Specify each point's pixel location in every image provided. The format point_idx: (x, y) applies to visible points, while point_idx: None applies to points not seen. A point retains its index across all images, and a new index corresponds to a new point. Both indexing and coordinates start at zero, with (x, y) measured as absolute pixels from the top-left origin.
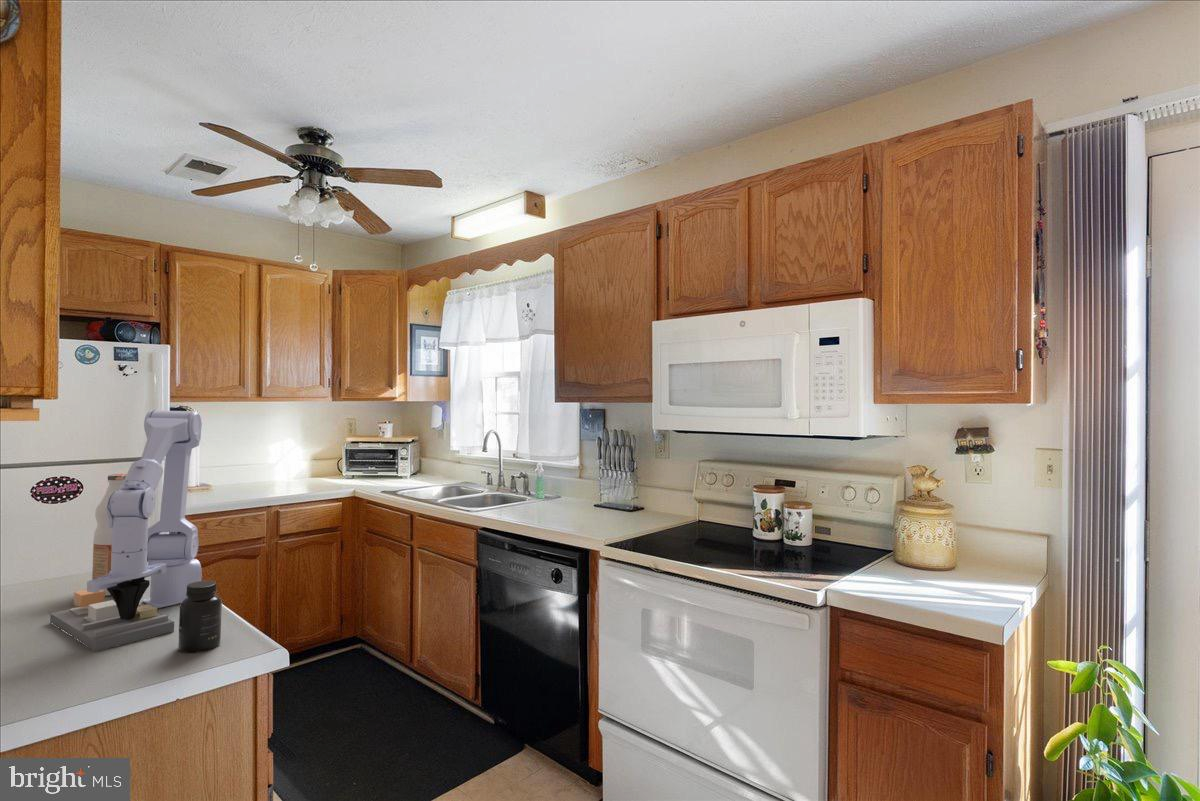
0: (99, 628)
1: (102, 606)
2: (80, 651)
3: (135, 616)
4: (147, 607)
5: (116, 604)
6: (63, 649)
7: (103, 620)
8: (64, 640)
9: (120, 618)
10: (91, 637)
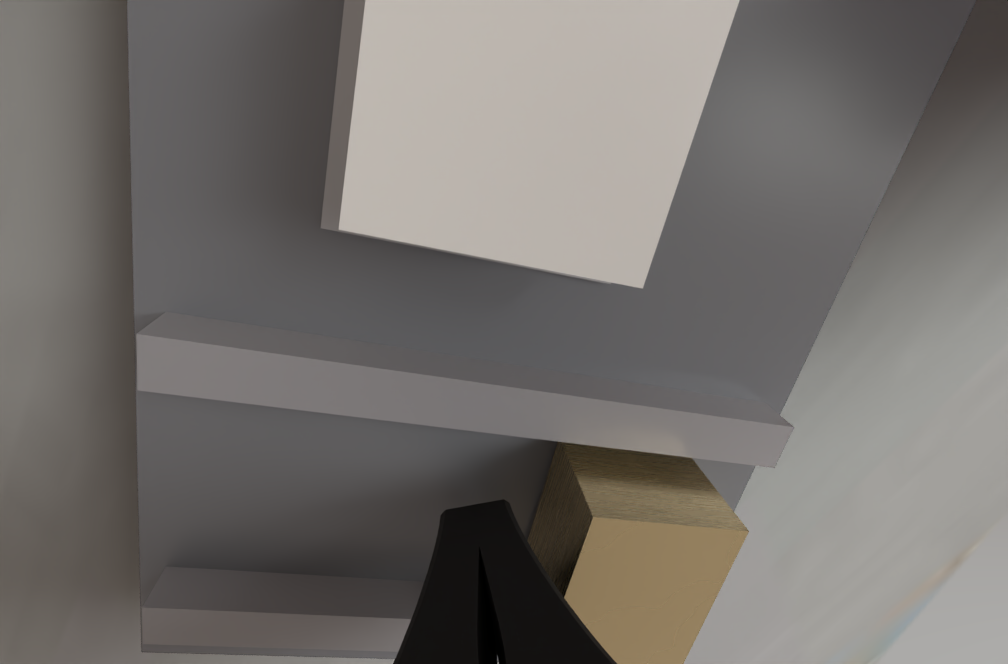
0: (293, 415)
1: (458, 183)
2: (114, 505)
3: (546, 552)
4: (662, 612)
5: (401, 652)
6: (29, 369)
7: (349, 386)
8: (103, 137)
9: (441, 517)
10: (147, 573)
